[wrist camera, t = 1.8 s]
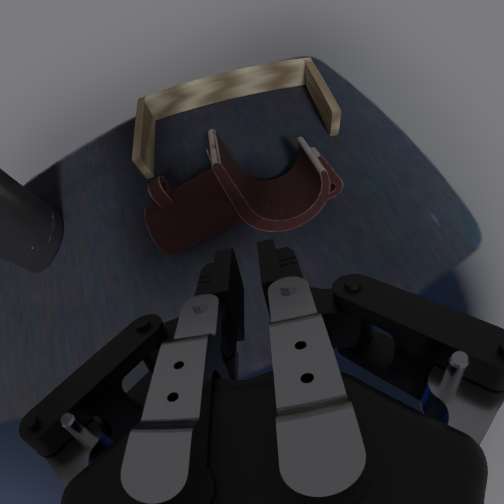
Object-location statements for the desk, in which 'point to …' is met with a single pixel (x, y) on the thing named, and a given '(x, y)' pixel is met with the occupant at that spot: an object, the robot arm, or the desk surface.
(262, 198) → the bracket
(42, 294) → the desk surface
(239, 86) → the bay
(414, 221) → the desk surface
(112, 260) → the desk surface
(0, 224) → the robot arm
